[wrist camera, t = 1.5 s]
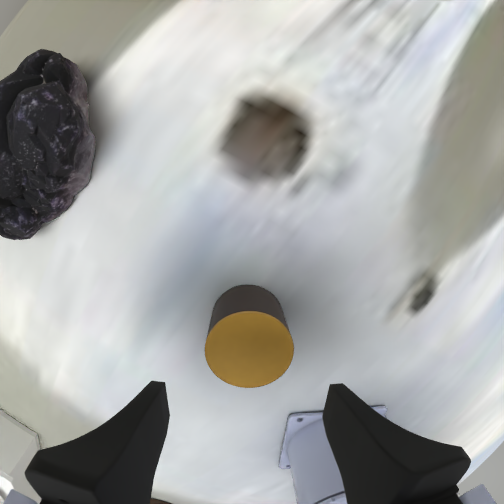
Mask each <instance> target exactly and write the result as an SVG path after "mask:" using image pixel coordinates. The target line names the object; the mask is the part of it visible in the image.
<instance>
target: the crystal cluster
mask: <svg viewBox="0 0 504 504" xmlns="http://www.w3.org/2000/svg"><path fill="white" fill-rule="evenodd" d="M87 98H88V88H87V84H86V81H85V79H84V77H83V75H82V73H81V71H80V69H79V68H78V66H77V65H76V64H75V63H73V62H71V61H70V60H68V59H66V58H64V57H63V56H62V55H61V54H60V53H56V52H53V51H49V50H44V49H40V50H38V51H36V52H34V53H33V54H31V55H29V56H27V57H26V58H25V59H24V60H23V61H22V63H21V64H20V65H19V67H18V68H17V70H16V71H15V72H13V73H12V74H10V75H9V76H7V77H6V78H4V79H3V80H1V81H0V235H1V236H2V237H5V238H8V239H13V240H17V239H19V240H22V239H30V238H31V237H32V236H33V235H34V234H35V233H36V232H37V231H38V230H39V228H40V227H41V225H42V224H43V223H45V222H49V221H51V220H53V219H55V218H56V217H58V216H59V215H60V214H61V213H62V212H63V211H66V210H67V209H68V207H69V206H70V205H71V203H72V201H73V197H74V195H76V194H77V193H78V192H79V191H81V190H82V189H83V188H84V187H85V186H86V185H87V184H88V182H89V180H90V174H91V168H92V163H93V160H94V156H95V144H96V139H95V136H94V134H93V133H92V132H91V130H90V126H89V111H88V107H89V105H90V104H88V103H87Z"/></svg>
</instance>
